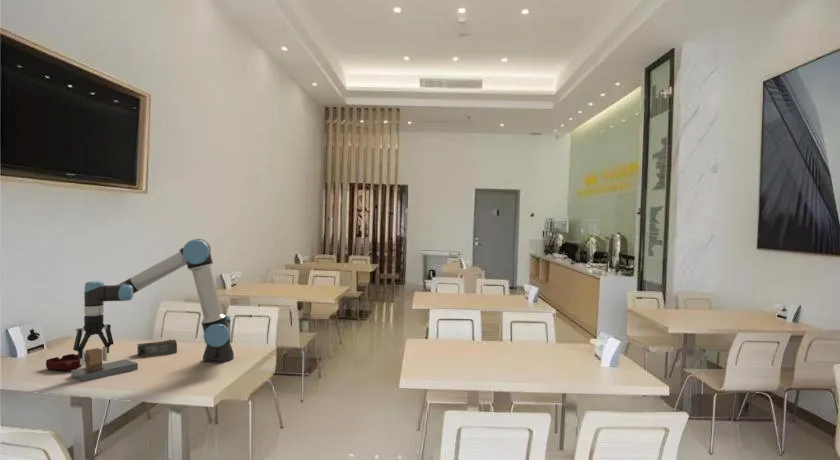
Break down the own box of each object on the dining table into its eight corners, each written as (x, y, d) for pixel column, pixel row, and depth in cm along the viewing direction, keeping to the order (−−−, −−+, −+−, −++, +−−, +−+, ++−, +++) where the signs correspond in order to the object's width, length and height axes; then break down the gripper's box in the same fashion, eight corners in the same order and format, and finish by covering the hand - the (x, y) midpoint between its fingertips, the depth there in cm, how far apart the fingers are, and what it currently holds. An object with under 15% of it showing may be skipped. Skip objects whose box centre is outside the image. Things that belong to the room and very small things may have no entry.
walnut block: (102, 375, 235) (102, 349, 235) (90, 377, 231) (90, 351, 231) (97, 373, 238) (97, 348, 237) (85, 375, 233) (85, 350, 233)
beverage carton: (136, 354, 273) (137, 342, 273) (175, 350, 283) (175, 338, 283) (137, 357, 266) (137, 345, 266) (177, 353, 277) (177, 341, 277)
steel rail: (137, 369, 245) (137, 363, 245) (82, 381, 225) (82, 374, 225) (125, 365, 251) (125, 359, 251) (71, 376, 232) (71, 370, 232)
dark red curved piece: (52, 364, 252) (52, 355, 252) (90, 362, 257) (90, 352, 257) (39, 374, 235) (39, 364, 235) (80, 371, 241) (80, 361, 241)
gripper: (114, 310, 245) (114, 356, 245) (64, 317, 227) (63, 366, 227) (122, 312, 241) (122, 359, 241) (71, 318, 223) (70, 369, 223)
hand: (93, 362), depth 234 cm, fingers open, 9 cm apart
